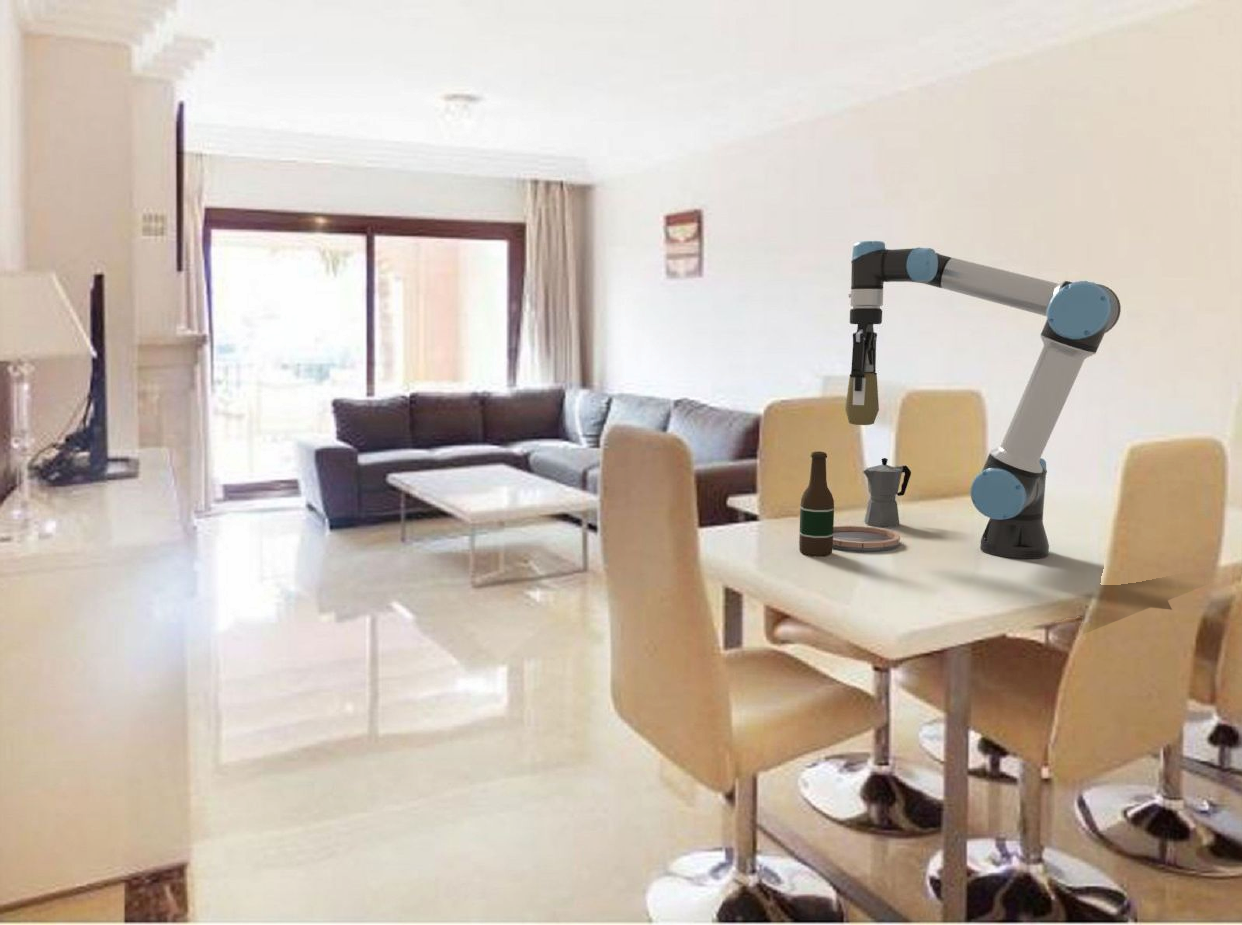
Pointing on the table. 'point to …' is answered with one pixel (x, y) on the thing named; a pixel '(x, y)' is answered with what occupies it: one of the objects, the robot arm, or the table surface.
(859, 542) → the dish
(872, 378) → the squeeze bottle
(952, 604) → the table surface
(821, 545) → the beer bottle
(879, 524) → the coffeepot
